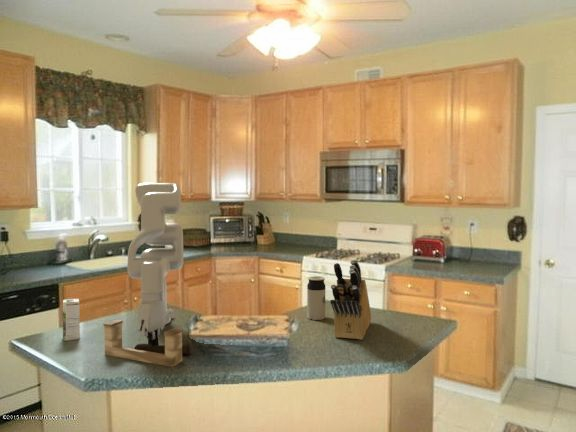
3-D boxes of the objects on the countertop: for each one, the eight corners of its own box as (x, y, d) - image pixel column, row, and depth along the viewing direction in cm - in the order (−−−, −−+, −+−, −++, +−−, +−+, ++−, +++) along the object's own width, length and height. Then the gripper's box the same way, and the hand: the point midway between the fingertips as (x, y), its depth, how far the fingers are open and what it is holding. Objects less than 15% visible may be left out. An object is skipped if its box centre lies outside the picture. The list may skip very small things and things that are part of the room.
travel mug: (303, 318, 199) (303, 278, 198) (313, 314, 205) (313, 275, 204) (318, 321, 194) (319, 280, 193) (328, 317, 201) (328, 277, 200)
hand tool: (191, 352, 157) (191, 339, 157) (190, 356, 153) (189, 343, 153) (134, 355, 155) (134, 341, 154) (132, 359, 151) (131, 345, 150)
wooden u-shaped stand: (115, 349, 159) (115, 319, 158) (183, 361, 148) (182, 328, 148) (104, 354, 154) (103, 323, 153) (173, 367, 143) (172, 333, 143)
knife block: (327, 345, 164) (328, 261, 162) (345, 319, 197) (346, 249, 195) (358, 349, 160) (359, 262, 158) (371, 322, 194) (372, 250, 192)
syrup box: (62, 337, 173) (61, 299, 172) (79, 334, 176) (78, 297, 175) (63, 341, 168) (62, 302, 167) (80, 339, 171) (79, 301, 170)
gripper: (157, 291, 163) (158, 341, 164) (128, 300, 150) (129, 355, 151) (174, 293, 161) (175, 343, 162) (146, 302, 147) (147, 358, 148)
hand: (153, 349), depth 156 cm, fingers closed
